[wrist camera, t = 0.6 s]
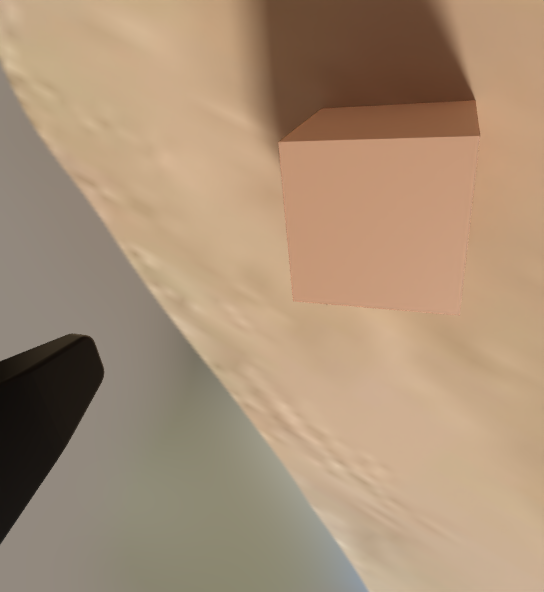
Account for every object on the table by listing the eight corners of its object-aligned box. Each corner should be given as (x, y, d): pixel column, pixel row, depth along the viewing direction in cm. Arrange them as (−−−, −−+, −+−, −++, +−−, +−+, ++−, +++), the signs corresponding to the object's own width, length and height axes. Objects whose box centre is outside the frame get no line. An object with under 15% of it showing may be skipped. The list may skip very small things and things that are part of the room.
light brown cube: (475, 99, 15) (480, 135, 11) (460, 243, 18) (459, 315, 14) (322, 108, 17) (278, 141, 13) (328, 238, 19) (293, 301, 15)
